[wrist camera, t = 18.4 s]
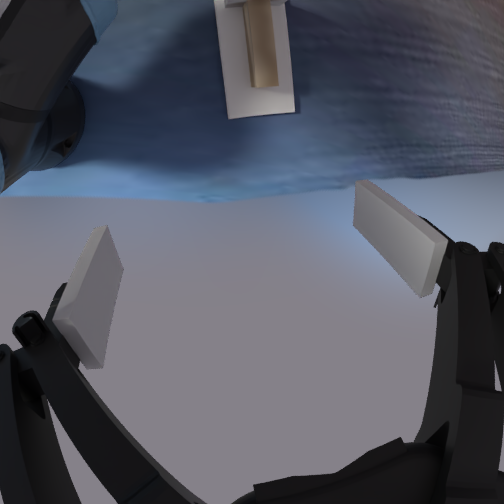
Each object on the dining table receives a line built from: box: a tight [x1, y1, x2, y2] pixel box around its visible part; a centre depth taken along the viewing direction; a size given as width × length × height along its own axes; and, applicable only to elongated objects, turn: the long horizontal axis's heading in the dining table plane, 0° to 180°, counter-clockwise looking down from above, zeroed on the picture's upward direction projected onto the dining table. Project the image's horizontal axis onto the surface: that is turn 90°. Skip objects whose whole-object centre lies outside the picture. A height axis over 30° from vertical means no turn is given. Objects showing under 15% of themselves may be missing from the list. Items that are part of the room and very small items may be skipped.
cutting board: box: [214, 0, 295, 119], centre depth 35 cm, size 10×24×1 cm, turn 7°
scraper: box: [224, 0, 288, 88], centre depth 32 cm, size 8×14×6 cm, turn 6°
